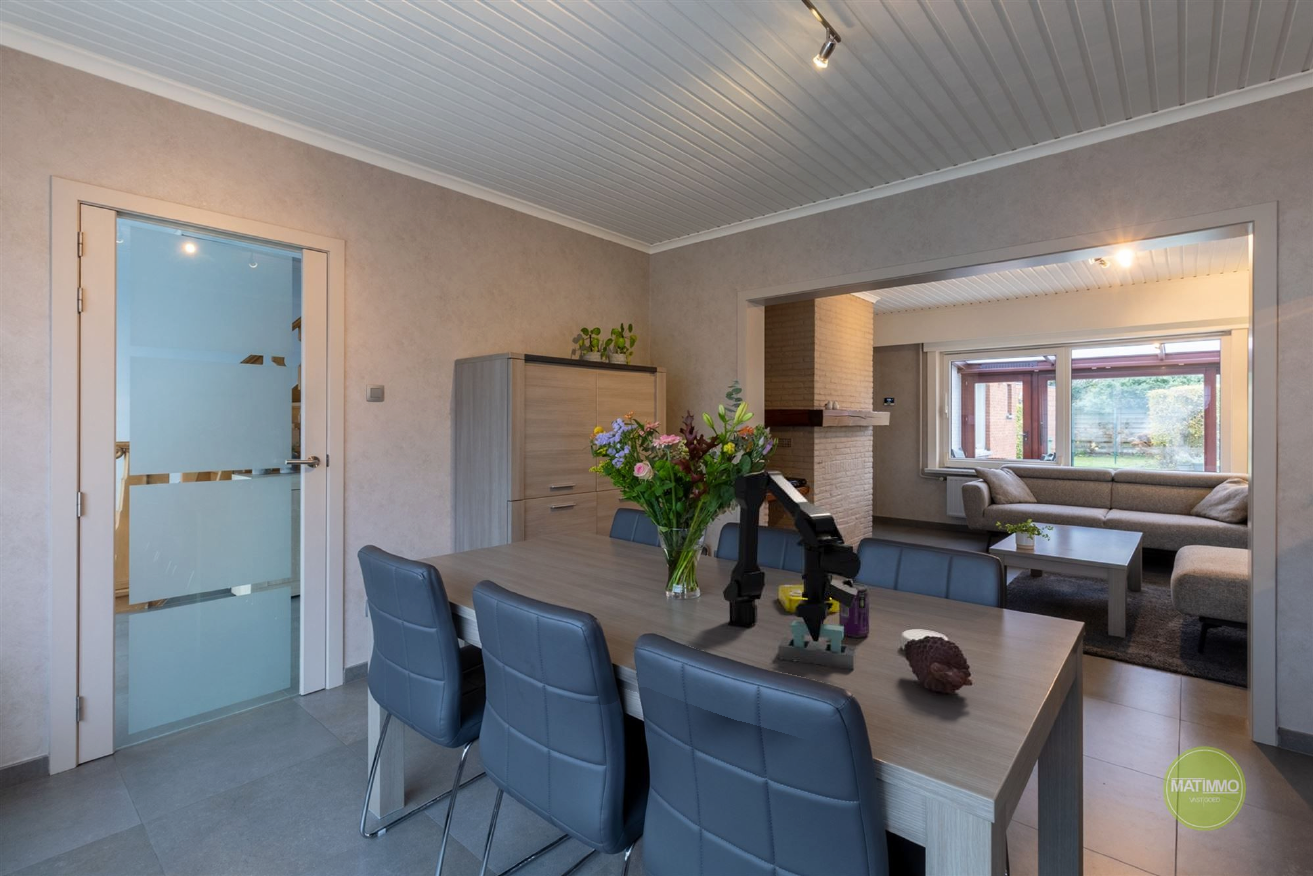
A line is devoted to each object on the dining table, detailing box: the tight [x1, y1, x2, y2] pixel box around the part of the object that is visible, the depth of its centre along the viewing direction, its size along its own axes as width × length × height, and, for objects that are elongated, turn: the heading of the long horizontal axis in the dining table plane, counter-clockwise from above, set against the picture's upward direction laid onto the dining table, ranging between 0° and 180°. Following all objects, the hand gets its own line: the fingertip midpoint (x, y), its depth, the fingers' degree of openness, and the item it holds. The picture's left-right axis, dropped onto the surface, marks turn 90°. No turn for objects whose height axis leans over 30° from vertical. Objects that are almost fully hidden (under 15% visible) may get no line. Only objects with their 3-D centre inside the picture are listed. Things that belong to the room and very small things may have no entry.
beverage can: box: [838, 582, 870, 638], centre depth 150 cm, size 7×7×12 cm
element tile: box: [778, 584, 839, 613], centre depth 175 cm, size 15×15×5 cm
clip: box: [790, 620, 845, 653], centre depth 134 cm, size 11×3×6 cm, turn 67°
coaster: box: [900, 628, 950, 651], centre depth 139 cm, size 10×10×4 cm
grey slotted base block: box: [777, 636, 857, 671], centre depth 134 cm, size 16×6×3 cm, turn 67°
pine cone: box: [903, 636, 973, 695], centre depth 119 cm, size 18×10×10 cm, turn 12°
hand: (816, 638), depth 134 cm, fingers closed on clip, 3 cm apart
